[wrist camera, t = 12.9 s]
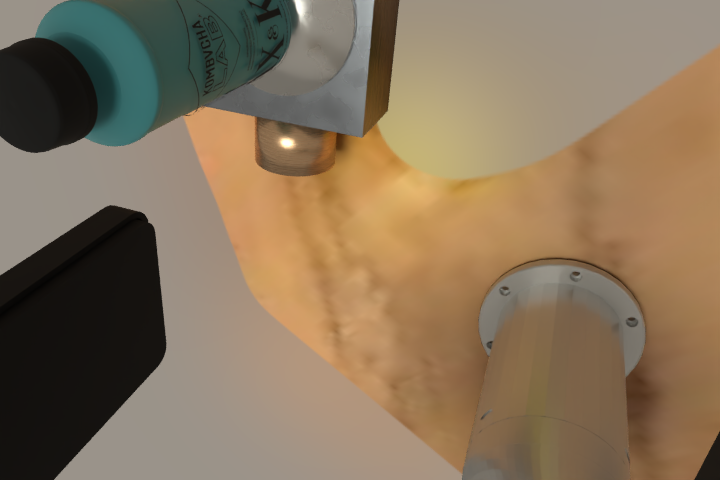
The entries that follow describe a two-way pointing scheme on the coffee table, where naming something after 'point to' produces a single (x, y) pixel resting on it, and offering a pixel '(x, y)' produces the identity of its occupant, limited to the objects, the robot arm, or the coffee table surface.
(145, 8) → the beverage bottle
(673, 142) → the coffee table surface
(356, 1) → the motor housing
